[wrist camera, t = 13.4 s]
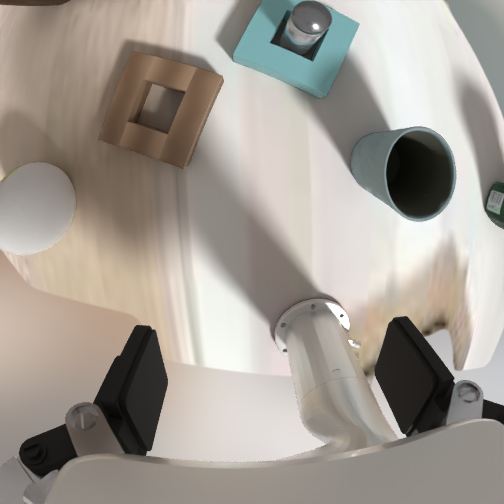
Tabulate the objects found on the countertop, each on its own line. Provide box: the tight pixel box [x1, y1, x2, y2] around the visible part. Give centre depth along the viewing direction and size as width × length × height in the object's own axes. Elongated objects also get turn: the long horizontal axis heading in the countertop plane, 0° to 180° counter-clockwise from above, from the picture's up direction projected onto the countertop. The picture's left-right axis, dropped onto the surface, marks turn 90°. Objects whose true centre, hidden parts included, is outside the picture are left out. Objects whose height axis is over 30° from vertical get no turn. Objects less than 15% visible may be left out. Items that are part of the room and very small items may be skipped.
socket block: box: [233, 0, 360, 99], centre depth 28 cm, size 12×12×4 cm
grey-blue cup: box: [351, 126, 456, 222], centre depth 31 cm, size 10×10×12 cm
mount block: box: [98, 51, 224, 168], centre depth 31 cm, size 12×12×4 cm
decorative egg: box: [0, 162, 76, 255], centre depth 29 cm, size 12×12×15 cm
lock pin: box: [280, 1, 332, 56], centre depth 25 cm, size 4×4×10 cm
